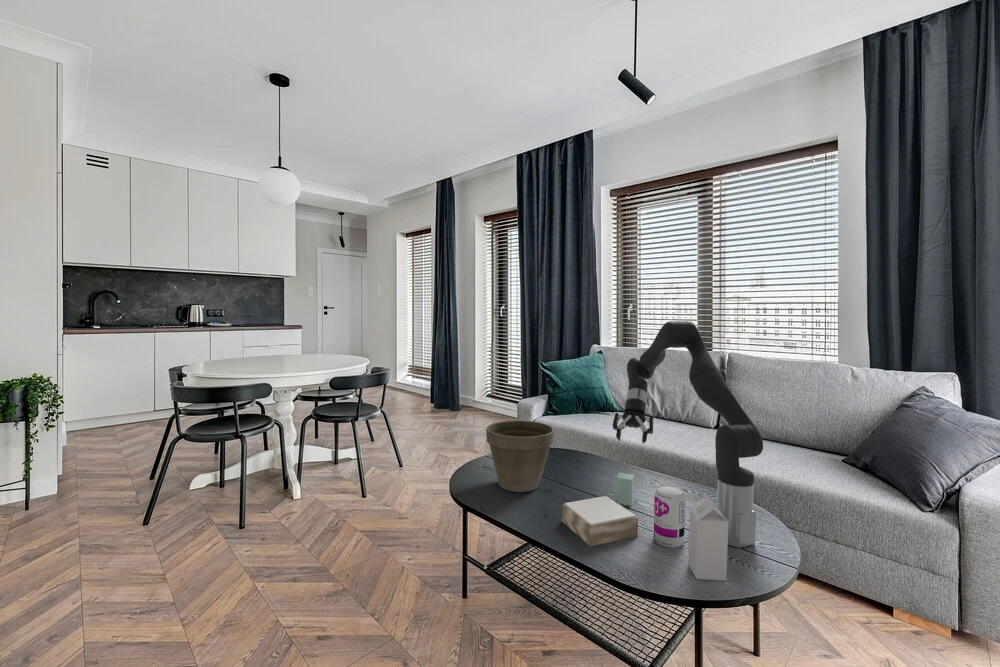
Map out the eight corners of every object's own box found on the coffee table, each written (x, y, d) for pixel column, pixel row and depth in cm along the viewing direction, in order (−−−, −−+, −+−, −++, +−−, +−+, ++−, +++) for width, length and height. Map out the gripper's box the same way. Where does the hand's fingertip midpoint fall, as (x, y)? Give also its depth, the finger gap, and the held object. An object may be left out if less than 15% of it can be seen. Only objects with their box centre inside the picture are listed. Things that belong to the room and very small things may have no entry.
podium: (637, 535, 140) (638, 515, 139) (590, 546, 134) (590, 525, 133) (606, 513, 154) (606, 495, 154) (562, 521, 149) (562, 502, 148)
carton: (633, 500, 164) (634, 474, 164) (631, 506, 160) (632, 479, 159) (618, 498, 166) (619, 472, 166) (616, 503, 162) (616, 477, 161)
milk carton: (716, 565, 124) (718, 493, 123) (726, 581, 117) (729, 505, 116) (687, 564, 125) (689, 492, 123) (696, 580, 118) (698, 504, 116)
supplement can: (665, 550, 131) (666, 497, 130) (647, 536, 139) (648, 486, 138) (690, 546, 134) (691, 494, 133) (671, 533, 141) (673, 483, 140)
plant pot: (534, 469, 194) (535, 416, 193) (566, 492, 172) (566, 432, 170) (476, 478, 185) (476, 422, 183) (501, 503, 162) (501, 440, 161)
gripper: (615, 395, 183) (609, 433, 173) (655, 399, 177) (650, 438, 167) (617, 406, 188) (612, 443, 178) (656, 410, 182) (652, 448, 173)
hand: (630, 440), depth 173 cm, fingers open, 8 cm apart
